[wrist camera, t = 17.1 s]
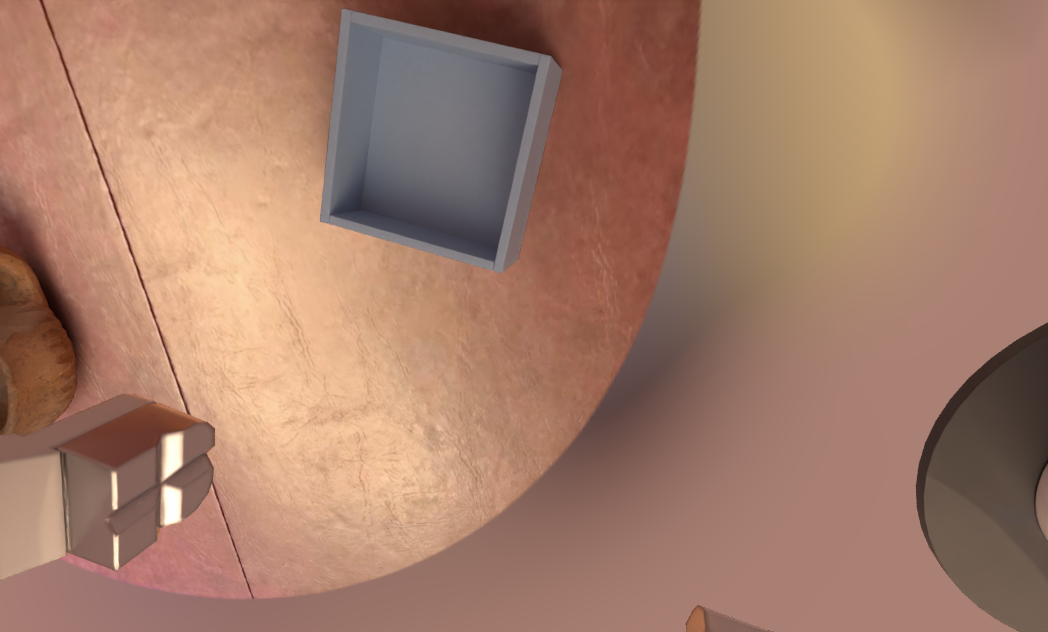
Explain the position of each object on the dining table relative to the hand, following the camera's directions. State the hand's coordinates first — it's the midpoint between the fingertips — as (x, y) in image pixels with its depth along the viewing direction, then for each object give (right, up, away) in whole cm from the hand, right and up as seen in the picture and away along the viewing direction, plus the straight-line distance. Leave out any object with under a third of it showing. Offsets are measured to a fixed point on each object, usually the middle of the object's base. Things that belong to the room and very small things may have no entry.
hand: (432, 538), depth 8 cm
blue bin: (-3, +15, +26) cm, 30 cm away
